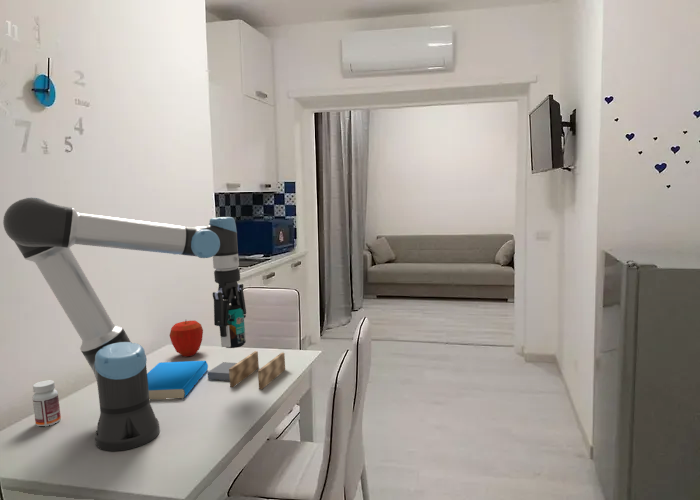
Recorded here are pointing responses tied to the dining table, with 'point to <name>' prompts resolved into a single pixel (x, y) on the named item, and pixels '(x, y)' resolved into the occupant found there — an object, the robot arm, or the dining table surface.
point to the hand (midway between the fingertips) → (233, 342)
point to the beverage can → (236, 326)
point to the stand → (221, 371)
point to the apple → (186, 337)
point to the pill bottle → (46, 403)
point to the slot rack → (251, 365)
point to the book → (174, 378)
